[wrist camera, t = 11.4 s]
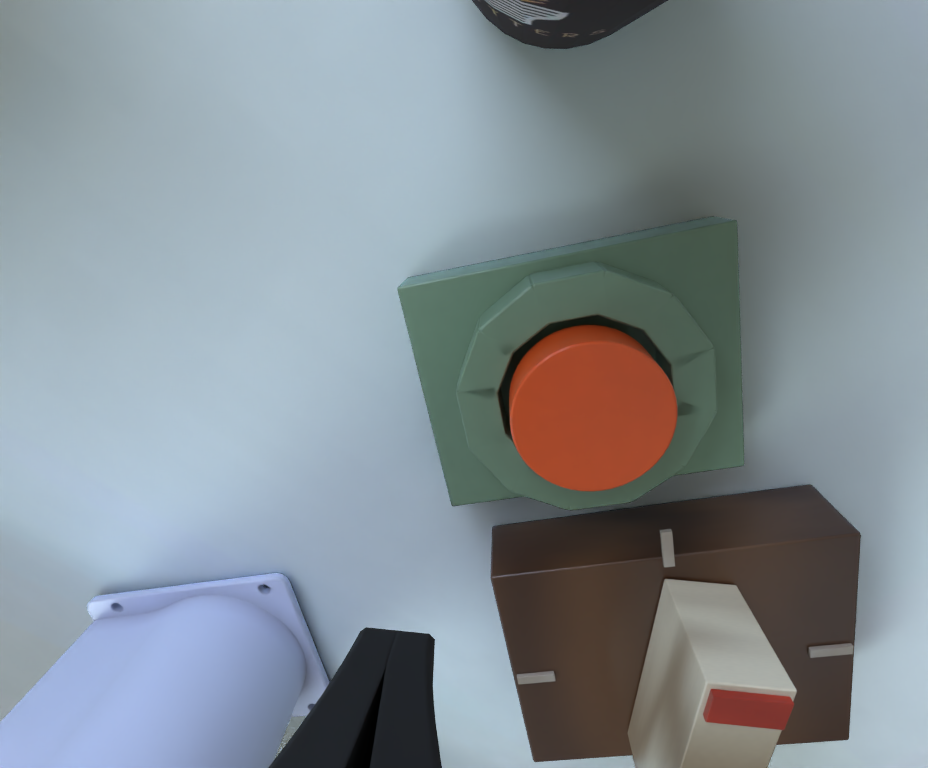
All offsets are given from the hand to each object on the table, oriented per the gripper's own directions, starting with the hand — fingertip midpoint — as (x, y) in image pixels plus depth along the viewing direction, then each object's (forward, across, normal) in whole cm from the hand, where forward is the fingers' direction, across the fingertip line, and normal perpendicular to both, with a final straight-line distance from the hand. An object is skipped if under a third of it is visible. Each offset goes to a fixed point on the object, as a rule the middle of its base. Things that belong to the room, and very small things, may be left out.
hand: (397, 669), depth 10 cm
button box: (+10, -4, -3) cm, 12 cm away
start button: (+7, -4, -3) cm, 9 cm away
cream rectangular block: (+7, -9, +7) cm, 14 cm away
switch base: (+10, -9, +7) cm, 15 cm away
